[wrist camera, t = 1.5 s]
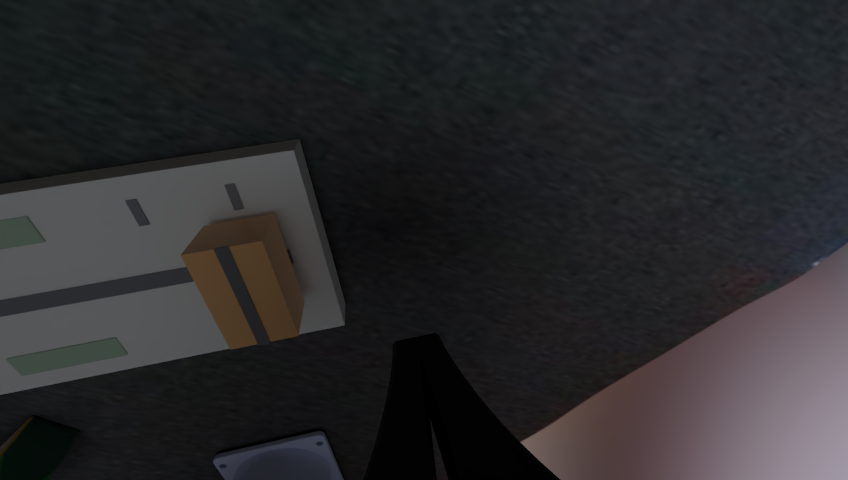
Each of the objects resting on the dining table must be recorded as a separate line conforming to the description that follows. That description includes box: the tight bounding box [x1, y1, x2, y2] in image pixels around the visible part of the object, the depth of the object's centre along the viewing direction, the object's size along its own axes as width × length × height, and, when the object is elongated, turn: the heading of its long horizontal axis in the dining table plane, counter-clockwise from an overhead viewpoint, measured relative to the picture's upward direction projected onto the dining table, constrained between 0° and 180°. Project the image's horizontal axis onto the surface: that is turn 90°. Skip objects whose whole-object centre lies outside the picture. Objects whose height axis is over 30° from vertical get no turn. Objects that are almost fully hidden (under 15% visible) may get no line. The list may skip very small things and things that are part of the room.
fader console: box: [0, 139, 345, 395], centre depth 18 cm, size 10×22×2 cm, turn 96°
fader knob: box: [180, 214, 305, 350], centre depth 16 cm, size 5×3×3 cm, turn 6°
